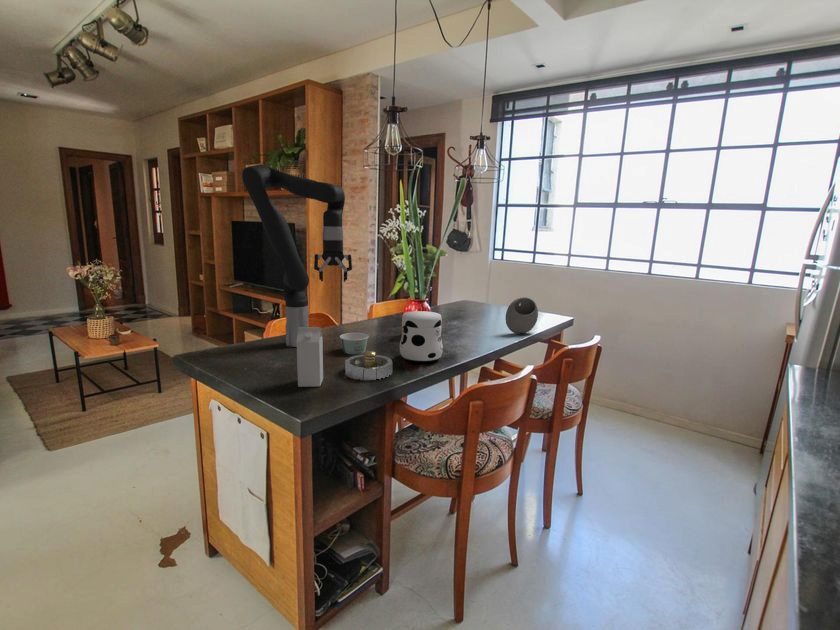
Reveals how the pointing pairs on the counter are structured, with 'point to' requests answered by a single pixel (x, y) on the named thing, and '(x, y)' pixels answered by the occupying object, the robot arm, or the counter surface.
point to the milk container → (421, 336)
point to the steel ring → (358, 372)
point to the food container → (354, 343)
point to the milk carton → (309, 356)
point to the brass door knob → (369, 359)
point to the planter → (521, 315)
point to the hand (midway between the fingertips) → (333, 281)
